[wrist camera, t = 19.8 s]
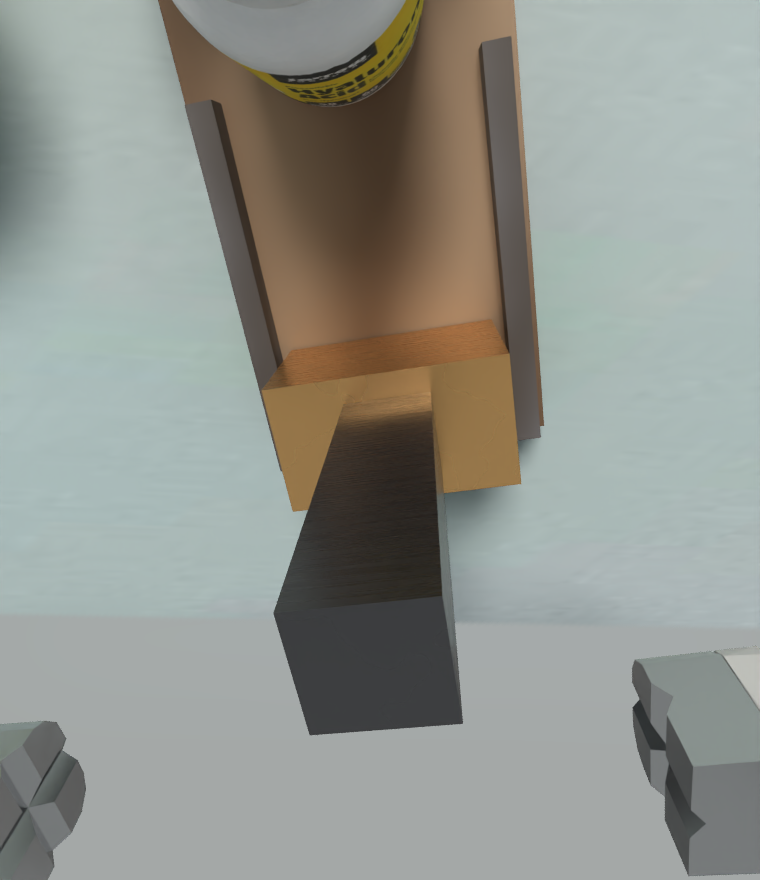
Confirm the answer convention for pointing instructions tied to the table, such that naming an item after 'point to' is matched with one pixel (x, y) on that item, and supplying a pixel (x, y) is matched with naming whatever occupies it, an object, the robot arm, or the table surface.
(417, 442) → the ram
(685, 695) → the robot arm
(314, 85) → the supplement bottle
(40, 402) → the table surface
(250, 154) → the frame
